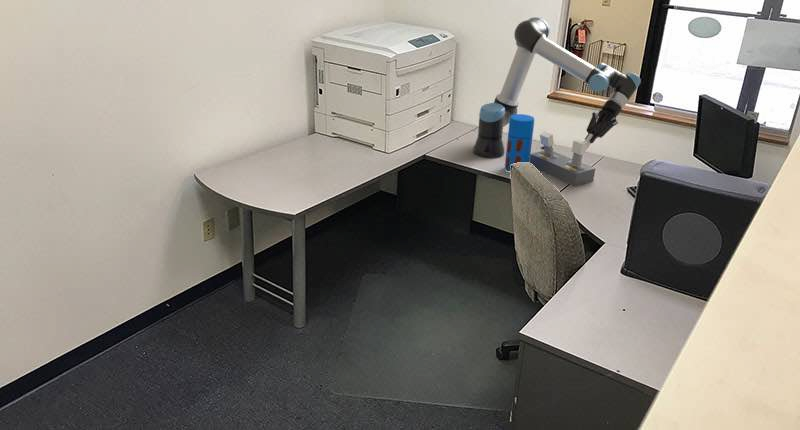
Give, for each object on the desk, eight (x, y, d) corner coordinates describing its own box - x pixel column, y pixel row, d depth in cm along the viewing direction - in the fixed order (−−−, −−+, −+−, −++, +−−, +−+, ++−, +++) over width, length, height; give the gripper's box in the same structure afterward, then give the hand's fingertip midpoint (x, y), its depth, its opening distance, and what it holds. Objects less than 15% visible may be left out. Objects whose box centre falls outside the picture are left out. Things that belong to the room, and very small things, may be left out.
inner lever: (542, 154, 289) (539, 134, 283) (547, 151, 290) (544, 131, 284) (550, 157, 285) (547, 137, 279) (555, 154, 286) (552, 134, 280)
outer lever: (569, 164, 277) (573, 140, 272) (573, 163, 278) (578, 139, 274) (577, 167, 273) (582, 143, 269) (582, 166, 275) (586, 143, 270)
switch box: (529, 165, 292) (530, 151, 289) (547, 161, 298) (549, 146, 295) (574, 186, 271) (577, 171, 268) (593, 181, 277) (595, 165, 274)
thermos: (527, 175, 281) (534, 122, 270) (503, 173, 283) (509, 120, 272) (528, 167, 291) (534, 115, 280) (505, 164, 292) (510, 113, 281)
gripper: (630, 113, 272) (599, 156, 271) (605, 105, 282) (575, 147, 281) (624, 103, 267) (592, 147, 266) (599, 96, 277) (569, 138, 276)
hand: (584, 147), depth 273 cm, fingers closed
